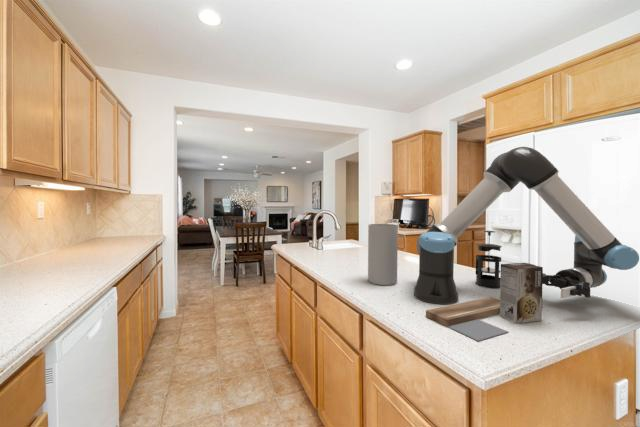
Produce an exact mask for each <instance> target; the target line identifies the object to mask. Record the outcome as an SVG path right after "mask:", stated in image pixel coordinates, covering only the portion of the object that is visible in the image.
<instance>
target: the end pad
mask: <svg viewBox="0 0 640 427" xmlns="http://www.w3.org/2000/svg"><path fill="white" fill-rule="evenodd" d="M447 328H448V329H451V330H453V331H454V332H457V333H459V334H461V335H463V336H465V337H467V338H469V339H471V340H473V341H476V342H481V341H484V340H488V339H492V338H495V337H499V336H502V335H506V334H508V333H509V331H507V330H506V329H503V328H500V327H497V326H496V325H493V324H490V323H488V322H485V321H483V320H481V319H476V320H472V321H468V322H464V323H460V324H456V325H452V326H448V327H447Z"/></svg>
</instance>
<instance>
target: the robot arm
mask: <svg viewBox="0 0 640 427" xmlns="http://www.w3.org/2000/svg"><path fill="white" fill-rule="evenodd" d="M559 172H560V171H559V169H557V167H556V166H554V164H553V163H552V162H551V161H550V160H549V159H548V158H547V157H546V156H545V155H544V154H542V153H541V152H539V150H536V149H534V148H532V147H528V146H518V147H515V148H513V149H510V150H509V151H507V152H503V153H501V154H499V155H498V156H497V157H495V158H494V159H493V161H491V164H490V166H489V167H488V168H487V169H486V170H485V171H484V172H483V179H482V180H481V181H480V182H479V183H478V184H477V185H476V186H475V187H474V188H473V189H472V190H471V191H470V192H469V193H468V194H467V195H466V196H465V197H464V198H463V199H462V201H460V203H458V204H457V206H455V208H454V209H453V210H452V211H450V213H448V215H447V216H446V217H445V218H444V219H443V220H442V221H441V222H440V223H434V224H432V226H431V227H430V228H429V229H428V230H427V231H426V232H423V233H421V234H420V236H419V237H418V239H417V242H416V251H417V253H418V254H419V258H418V259H419V262H418V263H419V265H418V267H419V268H418V271H419V272H418V277H417V279H416V283H415V286H414V288H413V296H414V298H416V299H418V300H420V301H423V302H426V303H427V302H428V303H431V304H439V305H452V304H456V303H457V302H458V301H459V292H458V290H457V287H456V286H457V285H456V283H455V278H454V267H455V266H454V264H455V263H454V260H455V259H454V258H455V247H456V246H457V245H458V238H459V237H460V236H461V235H462V234H463V233H464V232H465V231H466V230H467V229H468V228H469V227H470V226H471V225H472V224H473V223H475V221H476V220H477V219H478V218H479V217H480V216H481V215H482V214H483V213H484V212H485V211H486V210H487V209H488V208H489V207H490V206H491V205H492V204H493V203H494V202H495V201H496V200H497V199H498V198H499V197H500V196H501V195H503V194H504V193H510V192H511V191H512V190H513V189H514V188H515V187H517V185H519V184H520V183H522V184H523V185H525V187H526V188H527V189H529V190H534V191H535V193H537V195H538V196H539V197H540V198H541V199H542V200H543V201H544V203H546V204H547V206H548V207H549V208H550V209H551V210H552V211H553V212H554V214H556V215H557V216H558V217H559V219H560V220H561V221H563V223H564V224H565V225H566V226H567V228H568V229H569V230H570V231H571V232H572V233H573V234H574V235H575V236H574V242H573V245H574V246H573V267H572V268H568V269H561V270H559V271H557V272H556V274H546V273H544V272H543V279H542V285H545V286H548V287H555V288H558V289H560V298H561V299H567V298H571V297H575V296H578V297H580V296H581V297H582V295H583V296H584V297H585V298H591V288H597V287H600V286H602V285H604V284H605V283H606V281H607V279H608V275H607V273H606V271H605V270H604V269H603V266H604V267H605V266H606V267H608V268H610V269H614V270H620V271H621V270H622V271H627V270H631V269H633V268H634V267H636V266H637V265H638V263H639V261H640V255H639V253H638V251H636V249H634V248H633V247H630V246H628V245H626V244H623V243H622V242H621V241H620V240H619V239H617V237H616V236H615V235H614V234H613V233H612V232H611V231H610V230H609V229H608V228H607V227H606V226H605V225H604V223H602V221H601V220H600V219H599V218H598V217H597V216H596V215H595V213H593V212H592V211H591V209H589V207H588V206H586V204H585V203H584V202H583V201H582V200H581V199H580V198H579V196H578V195H577V194H575V193H574V191H573V190H572V189H571V188H570V187H569V186H568V185H567V183H566V182H564V180H563V179H561V177H560V176H559Z"/></svg>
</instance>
